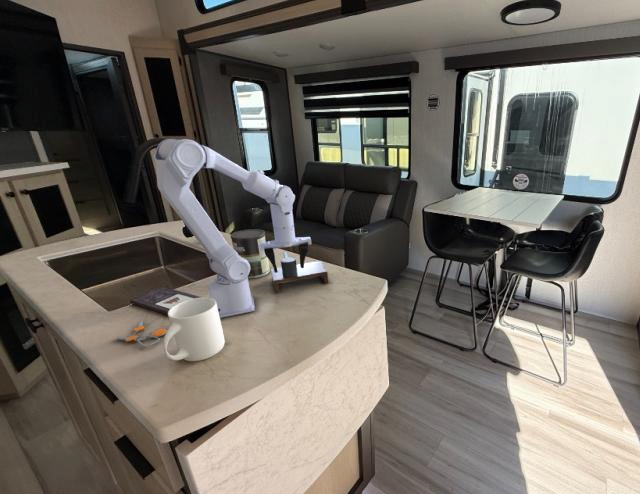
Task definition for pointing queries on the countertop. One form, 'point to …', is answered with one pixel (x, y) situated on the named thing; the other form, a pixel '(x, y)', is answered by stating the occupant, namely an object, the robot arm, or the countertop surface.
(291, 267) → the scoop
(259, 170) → the robot arm
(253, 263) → the coffee can
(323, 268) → the shelf
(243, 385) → the countertop surface
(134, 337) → the key chain
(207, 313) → the mug
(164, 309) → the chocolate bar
